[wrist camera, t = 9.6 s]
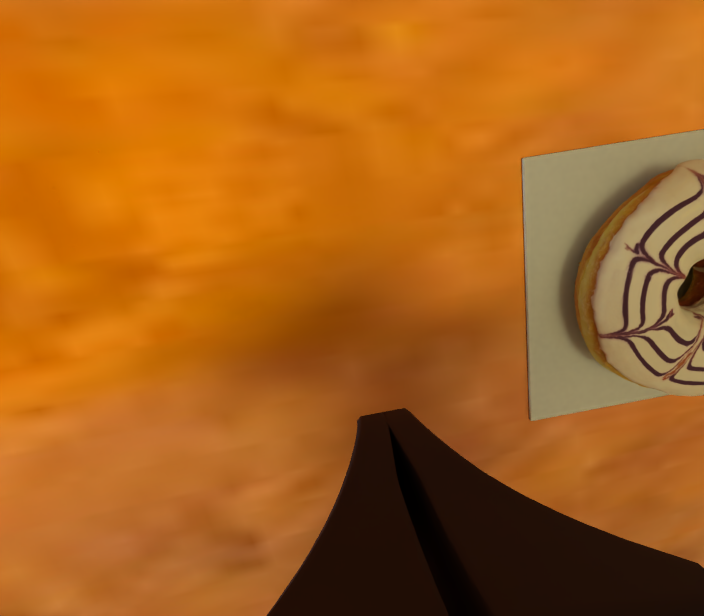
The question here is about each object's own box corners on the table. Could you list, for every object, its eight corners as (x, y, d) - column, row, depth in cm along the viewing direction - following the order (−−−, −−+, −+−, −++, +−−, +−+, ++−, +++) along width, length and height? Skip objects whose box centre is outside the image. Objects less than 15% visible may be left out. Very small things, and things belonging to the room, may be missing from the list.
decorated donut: (792, 211, 20) (901, 214, 16) (679, 392, 22) (751, 430, 18) (629, 130, 18) (710, 111, 14) (524, 337, 20) (570, 367, 16)
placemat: (760, 375, 22) (764, 376, 22) (529, 419, 22) (531, 421, 21) (801, 113, 18) (806, 112, 18) (521, 158, 18) (523, 157, 18)
